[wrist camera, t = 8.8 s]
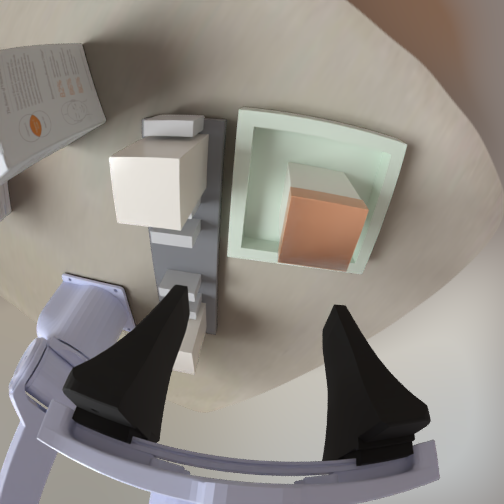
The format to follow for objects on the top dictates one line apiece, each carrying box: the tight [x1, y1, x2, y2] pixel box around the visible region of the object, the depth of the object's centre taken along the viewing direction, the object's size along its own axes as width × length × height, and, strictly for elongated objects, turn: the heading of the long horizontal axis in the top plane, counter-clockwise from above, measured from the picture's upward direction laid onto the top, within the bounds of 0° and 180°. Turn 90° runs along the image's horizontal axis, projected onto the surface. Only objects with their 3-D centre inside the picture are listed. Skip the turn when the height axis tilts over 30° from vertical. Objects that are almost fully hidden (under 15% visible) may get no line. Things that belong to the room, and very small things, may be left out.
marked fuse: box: [278, 162, 369, 272], centre depth 16 cm, size 4×4×6 cm
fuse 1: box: [109, 134, 209, 231], centre depth 15 cm, size 4×4×6 cm
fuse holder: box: [142, 115, 227, 335], centre depth 22 cm, size 6×23×3 cm, turn 174°
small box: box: [0, 43, 106, 186], centre depth 11 cm, size 8×6×10 cm
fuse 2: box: [172, 302, 207, 375], centre depth 25 cm, size 4×4×6 cm
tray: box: [227, 107, 407, 274], centre depth 19 cm, size 11×11×2 cm
